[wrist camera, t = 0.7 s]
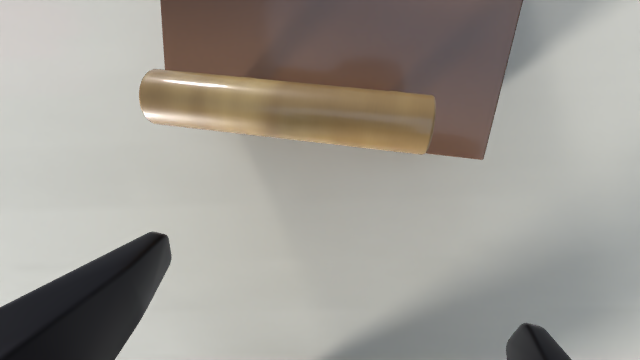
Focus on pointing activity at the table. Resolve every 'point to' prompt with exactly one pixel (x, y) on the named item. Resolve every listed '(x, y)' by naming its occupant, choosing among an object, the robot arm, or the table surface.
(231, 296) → the table surface
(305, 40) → the lid
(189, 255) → the table surface
